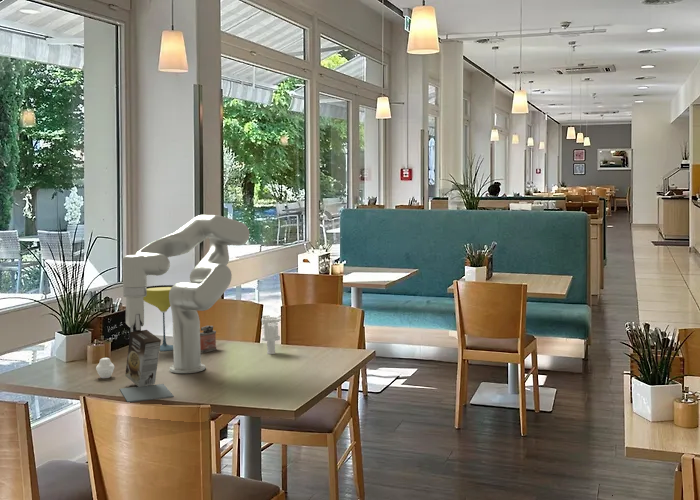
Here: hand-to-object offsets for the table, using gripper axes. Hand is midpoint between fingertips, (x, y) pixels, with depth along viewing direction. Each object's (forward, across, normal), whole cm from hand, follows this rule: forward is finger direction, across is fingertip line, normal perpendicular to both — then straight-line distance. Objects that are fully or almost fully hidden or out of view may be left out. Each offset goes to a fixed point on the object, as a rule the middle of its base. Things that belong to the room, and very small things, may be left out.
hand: (136, 346), depth 256 cm
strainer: (+12, -25, +55) cm, 62 cm away
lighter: (+12, -42, +34) cm, 55 cm away
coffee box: (+11, +3, 0) cm, 11 cm away
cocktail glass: (+12, -53, +18) cm, 58 cm away
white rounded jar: (+13, -13, -9) cm, 20 cm away
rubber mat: (+12, +15, +1) cm, 20 cm away
